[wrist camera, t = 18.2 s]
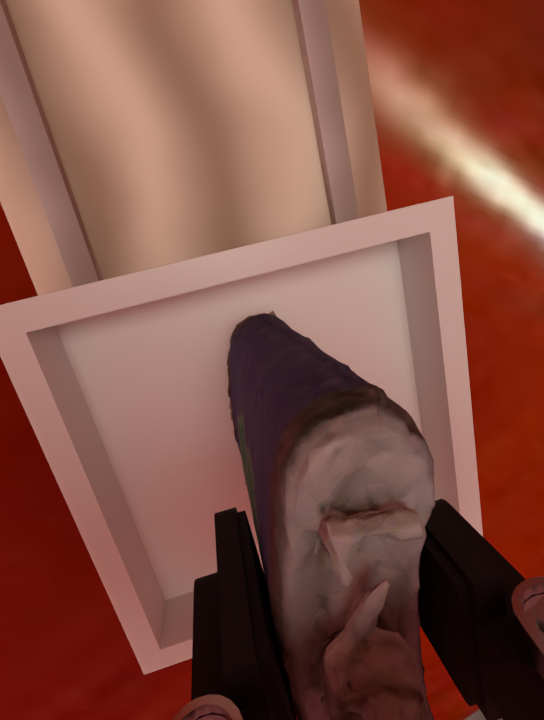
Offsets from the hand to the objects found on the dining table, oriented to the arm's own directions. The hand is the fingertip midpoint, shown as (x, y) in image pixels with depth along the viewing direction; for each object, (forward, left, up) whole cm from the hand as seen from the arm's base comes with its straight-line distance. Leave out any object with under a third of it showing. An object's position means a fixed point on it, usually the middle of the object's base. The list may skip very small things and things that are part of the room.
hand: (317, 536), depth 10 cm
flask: (0, 0, -7) cm, 7 cm away
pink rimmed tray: (0, -1, -11) cm, 11 cm away
